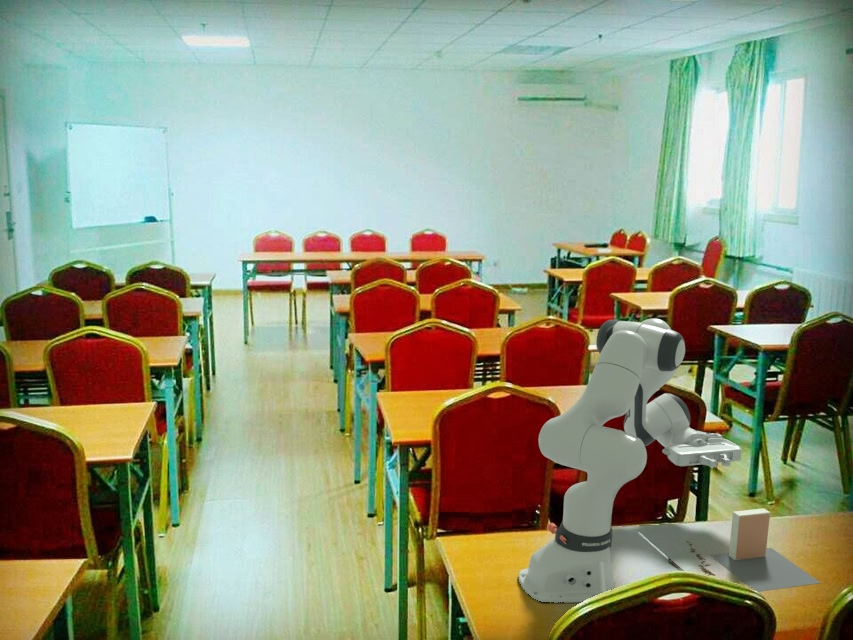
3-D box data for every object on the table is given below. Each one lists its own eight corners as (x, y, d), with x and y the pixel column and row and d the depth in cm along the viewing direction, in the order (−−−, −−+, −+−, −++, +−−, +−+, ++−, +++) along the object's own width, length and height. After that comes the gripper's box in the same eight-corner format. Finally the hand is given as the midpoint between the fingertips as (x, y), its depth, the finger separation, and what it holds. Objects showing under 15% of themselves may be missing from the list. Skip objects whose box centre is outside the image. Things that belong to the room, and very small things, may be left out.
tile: (735, 560, 197) (739, 516, 195) (728, 555, 200) (733, 511, 197) (766, 556, 199) (770, 512, 197) (759, 551, 202) (763, 508, 200)
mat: (755, 593, 183) (755, 591, 183) (710, 556, 200) (710, 555, 200) (820, 584, 187) (821, 582, 187) (770, 549, 204) (771, 547, 204)
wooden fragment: (727, 586, 187) (727, 581, 186) (680, 585, 187) (680, 581, 187) (693, 536, 212) (693, 532, 212) (652, 535, 212) (652, 532, 212)
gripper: (659, 438, 219) (687, 455, 206) (724, 433, 224) (755, 450, 211) (658, 459, 220) (685, 478, 207) (722, 454, 225) (753, 472, 212)
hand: (721, 464), depth 209 cm, fingers open, 3 cm apart
